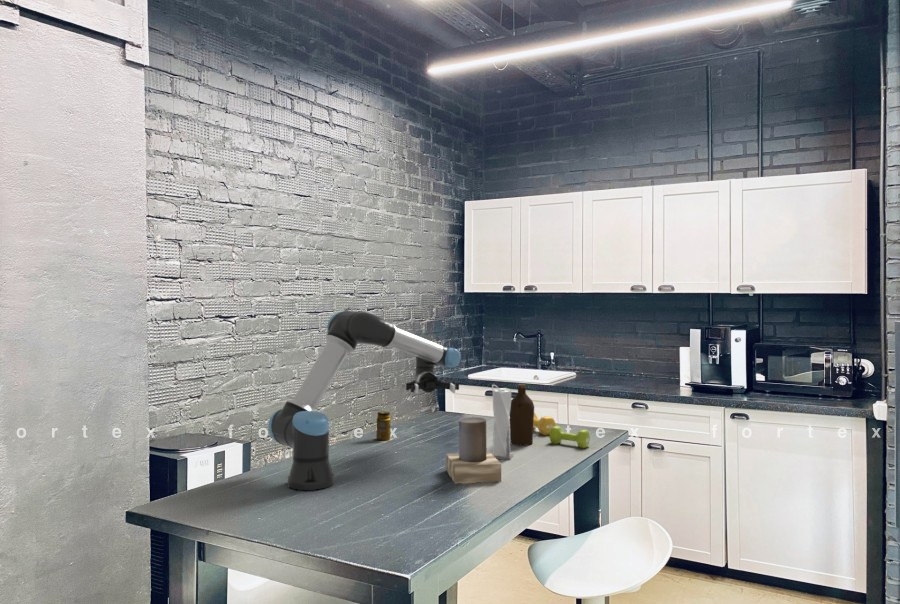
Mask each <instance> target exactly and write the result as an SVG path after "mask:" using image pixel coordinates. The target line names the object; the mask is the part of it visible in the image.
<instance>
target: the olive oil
mask: <svg viewBox="0 0 900 604" xmlns="http://www.w3.org/2000/svg"><path fill="white" fill-rule="evenodd" d="M517 386H518V387H517V394H516V395H515V396H513V398H511V408H510V415H509V425H510V444H511V443H512V445H514V446H515V445H516V446H530V445H532V444H533V442H534V441H533V439H534V428H533V422H534V413H535V405H534V402H533V400H532V399H531V398H530V397H529V395H528V394H527V391H526V389H527V388H526V386H527V385H526V384H525V383H518V384H517Z"/></svg>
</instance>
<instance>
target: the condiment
mask: <svg viewBox="0 0 900 604" xmlns="http://www.w3.org/2000/svg"><path fill="white" fill-rule="evenodd" d="M376 417H377V418H376V438H373V439H371V440H369V442H376V443H384V444H385V443H387V442H390V441H392V440H394V439H395V438H393V437H391V434H392V433H391V427H392V426H391V418H390V417H391V413H390V411H385V410H384V411H382V410H381V411H378V412H377V416H376Z"/></svg>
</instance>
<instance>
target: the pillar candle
mask: <svg viewBox="0 0 900 604" xmlns="http://www.w3.org/2000/svg"><path fill="white" fill-rule="evenodd" d="M458 438H459V439H458V450H459V459H461V460H462V461H466V462H479V461H484V460H486V459H487V458H486V452H488V451H487V419H486V418H485V417H478V416H477V417H476V416H470V417H469V416H467V417H462V418H459V419H458Z"/></svg>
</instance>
